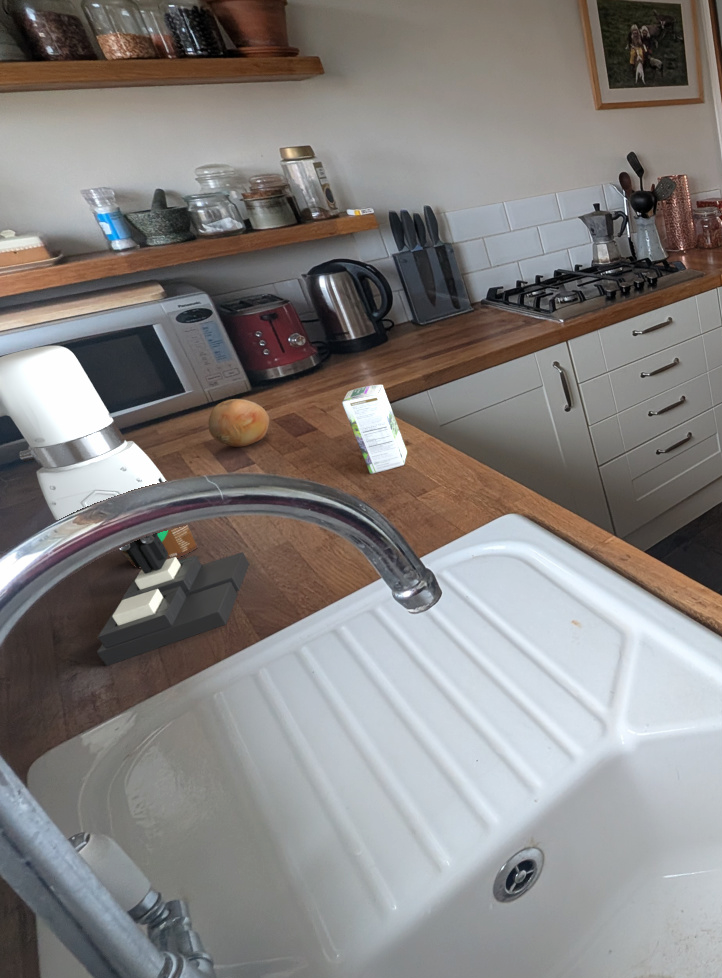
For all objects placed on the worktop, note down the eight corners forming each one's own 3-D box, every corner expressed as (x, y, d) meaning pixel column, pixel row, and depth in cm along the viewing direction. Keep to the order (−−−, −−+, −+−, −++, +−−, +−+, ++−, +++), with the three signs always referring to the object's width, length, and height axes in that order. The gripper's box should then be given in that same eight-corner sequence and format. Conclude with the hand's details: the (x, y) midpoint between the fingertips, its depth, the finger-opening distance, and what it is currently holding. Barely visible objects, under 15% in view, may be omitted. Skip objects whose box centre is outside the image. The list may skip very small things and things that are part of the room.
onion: (288, 430, 145) (268, 387, 141) (256, 452, 136) (233, 407, 132) (244, 435, 145) (223, 393, 141) (209, 458, 136) (185, 413, 132)
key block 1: (128, 627, 88) (112, 603, 86) (146, 597, 94) (131, 574, 92) (239, 590, 93) (226, 566, 91) (249, 564, 98) (237, 541, 97)
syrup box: (374, 461, 126) (345, 390, 120) (409, 452, 128) (381, 382, 122) (370, 475, 121) (339, 401, 115) (406, 465, 123) (377, 392, 117)
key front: (119, 627, 82) (111, 616, 81) (129, 610, 85) (122, 599, 84) (156, 615, 84) (149, 604, 83) (164, 599, 87) (158, 588, 86)
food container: (100, 573, 101) (63, 517, 97) (142, 547, 106) (109, 493, 102) (166, 574, 98) (131, 517, 94) (206, 548, 104) (174, 493, 100)
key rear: (140, 591, 89) (133, 581, 88) (149, 577, 92) (143, 566, 91) (174, 580, 90) (168, 570, 89) (182, 566, 93) (176, 556, 92)
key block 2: (106, 666, 81) (88, 641, 80) (126, 631, 87) (110, 607, 85) (226, 624, 86) (212, 599, 84) (238, 594, 92) (224, 570, 90)
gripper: (-17, 479, 77) (72, 605, 84) (147, 438, 83) (217, 558, 90) (15, 454, 83) (95, 573, 90) (166, 417, 89) (230, 532, 96)
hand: (156, 566), depth 90 cm, fingers closed
